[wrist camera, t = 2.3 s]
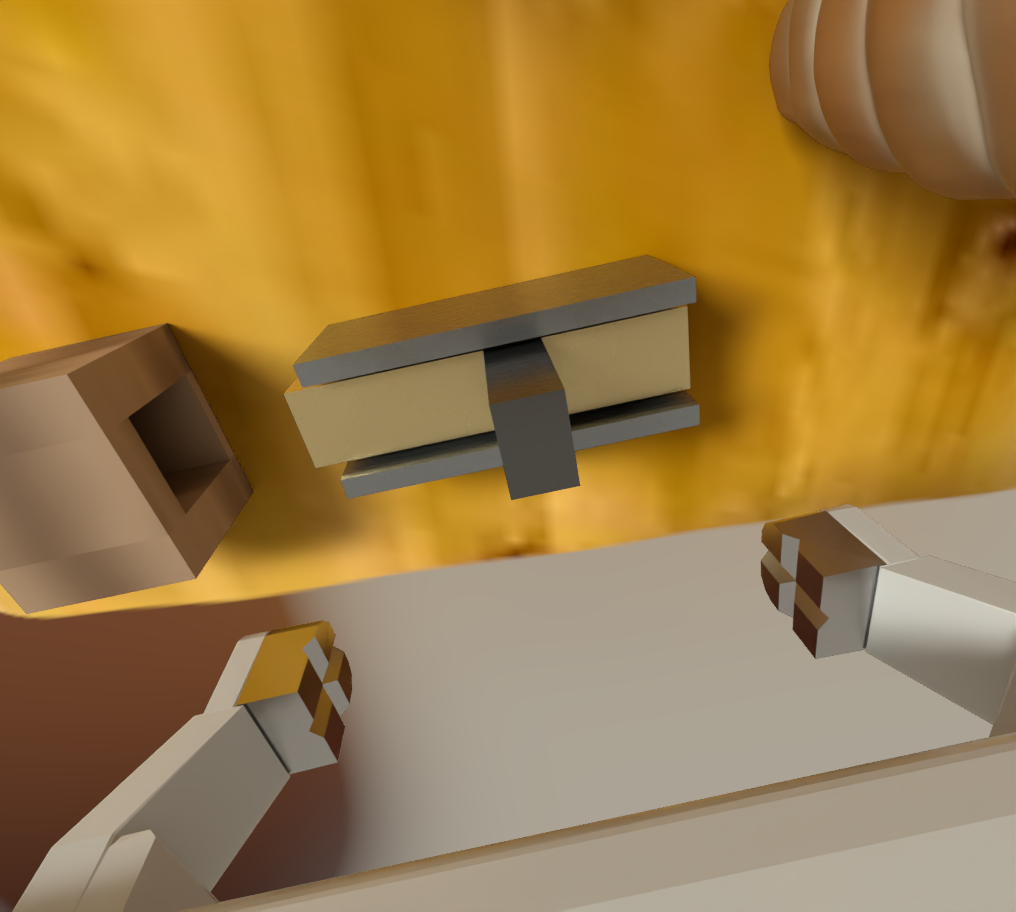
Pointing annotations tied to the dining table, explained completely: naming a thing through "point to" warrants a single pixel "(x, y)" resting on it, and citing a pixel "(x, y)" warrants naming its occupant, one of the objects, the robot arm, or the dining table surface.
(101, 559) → the socket
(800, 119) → the cat ice cream
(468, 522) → the dining table surface
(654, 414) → the grey track with slider
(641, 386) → the tan grey t-shaped block
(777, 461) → the dining table surface
